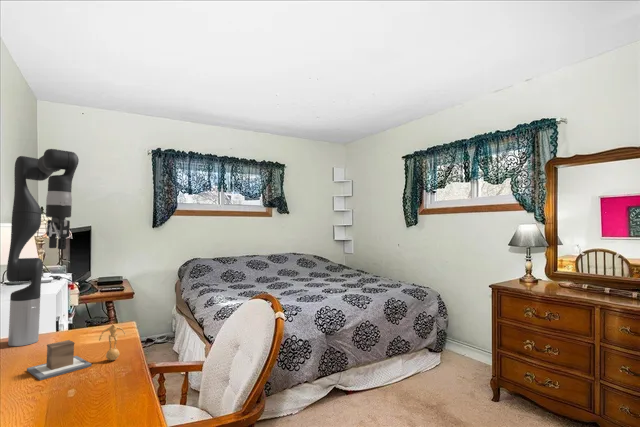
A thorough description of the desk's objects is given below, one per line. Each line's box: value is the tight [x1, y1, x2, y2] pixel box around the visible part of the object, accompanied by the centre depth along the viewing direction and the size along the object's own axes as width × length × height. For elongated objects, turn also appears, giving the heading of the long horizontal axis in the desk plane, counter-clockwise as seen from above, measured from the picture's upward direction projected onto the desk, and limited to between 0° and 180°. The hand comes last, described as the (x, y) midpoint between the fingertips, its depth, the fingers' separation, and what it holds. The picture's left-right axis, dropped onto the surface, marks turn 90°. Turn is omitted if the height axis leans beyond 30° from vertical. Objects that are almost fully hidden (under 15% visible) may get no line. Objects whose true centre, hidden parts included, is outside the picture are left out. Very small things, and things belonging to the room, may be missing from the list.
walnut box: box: [46, 339, 76, 370], centre depth 116 cm, size 5×6×7 cm
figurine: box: [98, 324, 127, 361], centre depth 125 cm, size 8×6×12 cm
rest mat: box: [26, 355, 93, 381], centre depth 116 cm, size 12×14×1 cm
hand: (57, 248), depth 129 cm, fingers open, 8 cm apart
